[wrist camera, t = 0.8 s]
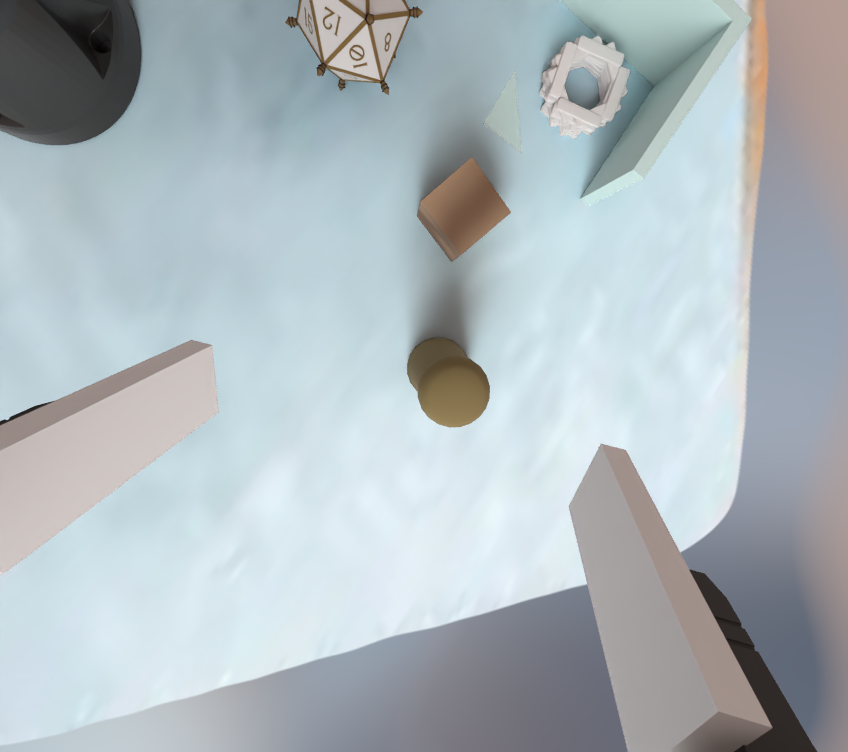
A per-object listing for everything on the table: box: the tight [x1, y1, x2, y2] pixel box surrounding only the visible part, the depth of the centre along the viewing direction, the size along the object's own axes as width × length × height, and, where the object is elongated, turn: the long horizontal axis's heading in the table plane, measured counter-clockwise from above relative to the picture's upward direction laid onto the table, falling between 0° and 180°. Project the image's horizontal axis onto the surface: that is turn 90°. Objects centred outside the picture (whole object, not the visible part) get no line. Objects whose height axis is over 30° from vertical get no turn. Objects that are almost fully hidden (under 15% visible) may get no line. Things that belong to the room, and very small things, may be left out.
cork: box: [407, 338, 490, 427], centre depth 30 cm, size 6×6×11 cm
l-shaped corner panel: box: [483, 0, 752, 206], centre depth 28 cm, size 12×12×8 cm
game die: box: [285, 0, 423, 95], centre depth 25 cm, size 9×8×10 cm
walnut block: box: [417, 157, 511, 262], centre depth 30 cm, size 5×5×5 cm
